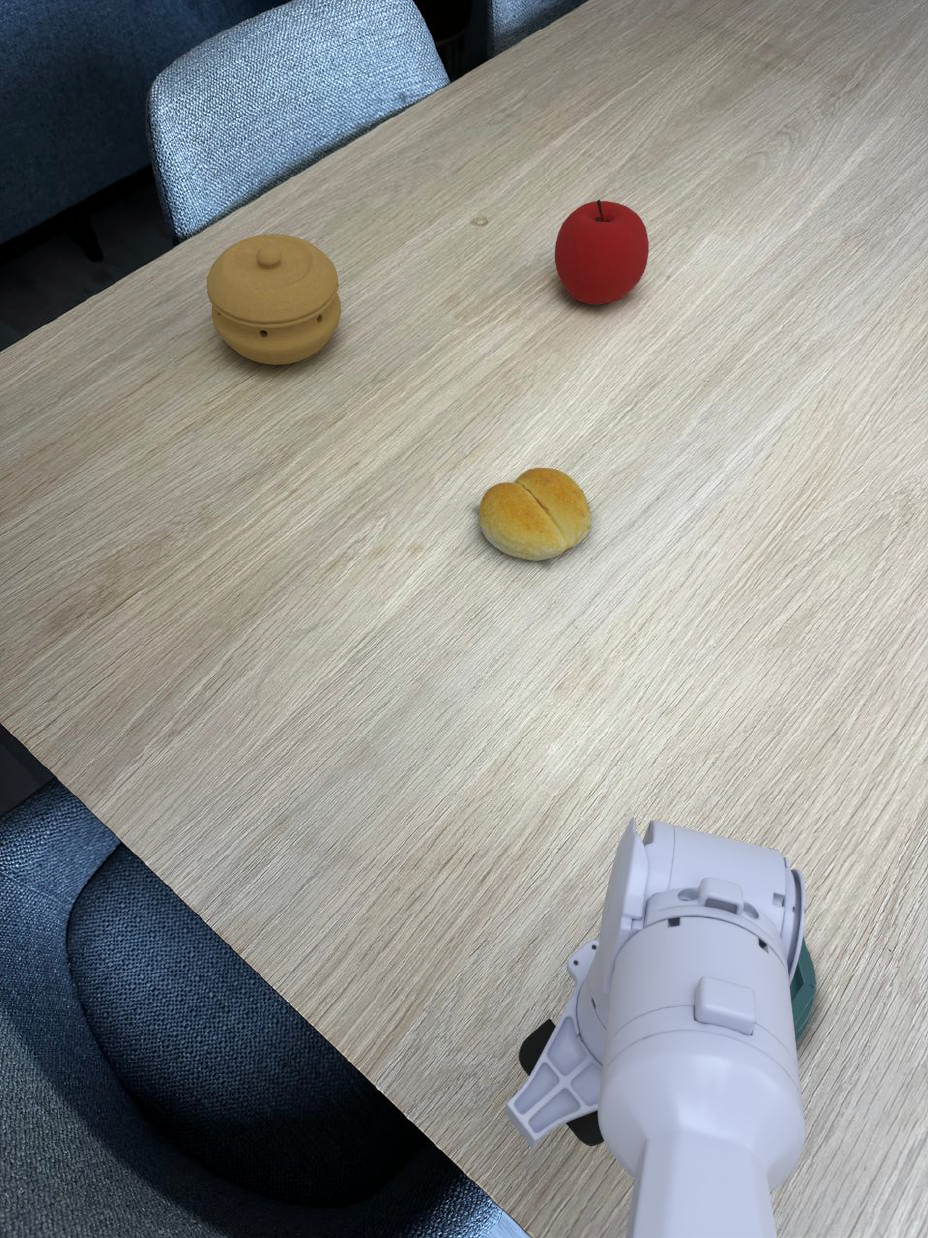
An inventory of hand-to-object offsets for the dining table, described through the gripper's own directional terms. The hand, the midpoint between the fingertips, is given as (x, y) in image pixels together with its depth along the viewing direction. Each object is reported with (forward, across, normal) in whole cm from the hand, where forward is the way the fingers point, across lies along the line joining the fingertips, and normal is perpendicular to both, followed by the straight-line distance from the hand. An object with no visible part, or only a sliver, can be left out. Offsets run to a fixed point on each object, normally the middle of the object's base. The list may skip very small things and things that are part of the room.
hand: (609, 1062), depth 56 cm
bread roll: (+6, -26, -35) cm, 44 cm away
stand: (+6, -10, +1) cm, 12 cm away
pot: (+6, -22, -66) cm, 70 cm away
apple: (+6, -51, -54) cm, 74 cm away
